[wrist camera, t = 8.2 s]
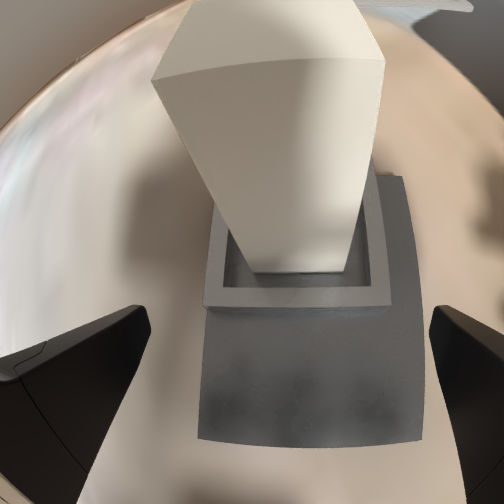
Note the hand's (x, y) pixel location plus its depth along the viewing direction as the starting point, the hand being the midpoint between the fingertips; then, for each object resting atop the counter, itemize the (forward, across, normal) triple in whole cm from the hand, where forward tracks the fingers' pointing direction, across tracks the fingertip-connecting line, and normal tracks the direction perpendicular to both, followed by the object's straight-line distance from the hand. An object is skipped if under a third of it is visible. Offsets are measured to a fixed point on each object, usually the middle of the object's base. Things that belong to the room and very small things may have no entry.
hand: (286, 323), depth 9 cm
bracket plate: (+8, -1, +4) cm, 9 cm away
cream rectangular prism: (+10, 0, 0) cm, 10 cm away
